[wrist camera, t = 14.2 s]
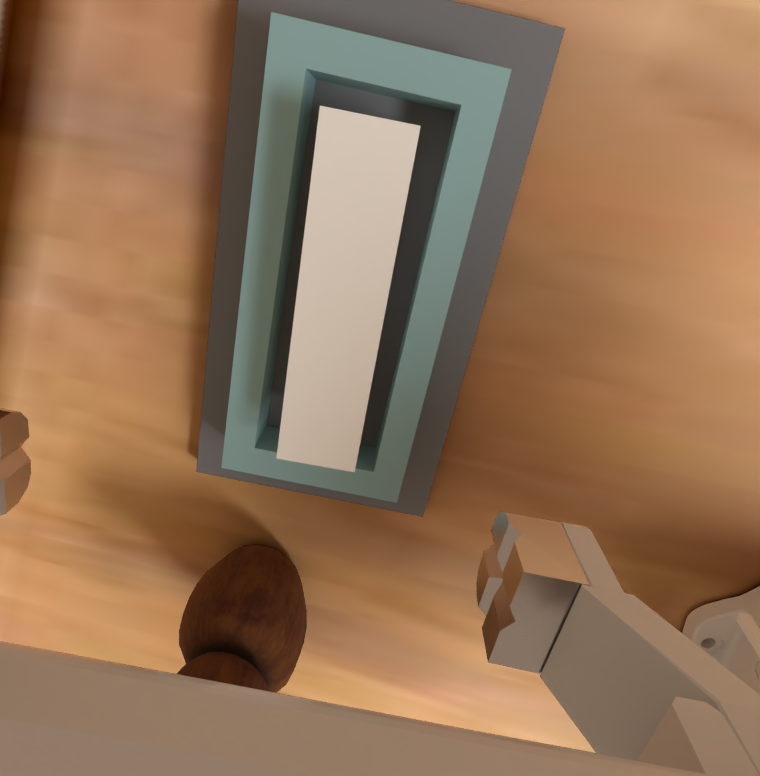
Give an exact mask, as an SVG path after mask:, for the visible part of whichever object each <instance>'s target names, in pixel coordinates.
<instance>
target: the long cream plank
mask: <svg viewBox="0 0 760 776" xmlns="http://www.w3.org/2000/svg"><path fill="white" fill-rule="evenodd" d="M420 127H421V126H419V125H414V124H409V123H404V122H399V121H394V120H389V119H384V118H379V117H374V116H369V115H364V114H359V113H354V112H349V111H344V110H339V109H335V108H330V107H325V106H320V109H319V117H318V125H317V133H316V141H315V149H314V158H313V166H312V174H311V182H310V190H309V198H308V206H307V214H306V222H305V230H304V239H303V247H302V255H301V263H300V271H299V279H298V287H297V295H296V303H295V311H294V320H293V328H292V336H291V344H290V352H289V360H288V368H287V376H286V384H285V392H284V401H283V409H282V417H281V425H280V433H279V441H278V449H277V457H276V458H277V459H282V460H288V461H293V462H299V463H305V464H310V465H316V466H322V467H327V468H333V469H338V470H344V471H350V472H355V468H356V462H357V457H358V452H359V447H360V441H361V436H362V431H363V426H364V421H365V415H366V410H367V405H368V400H369V394H370V389H371V384H372V379H373V373H374V368H375V363H376V358H377V352H378V347H379V342H380V337H381V331H382V326H383V321H384V316H385V310H386V305H387V300H388V295H389V290H390V284H391V279H392V274H393V269H394V263H395V258H396V253H397V248H398V242H399V237H400V232H401V227H402V221H403V216H404V211H405V206H406V200H407V195H408V190H409V185H410V179H411V174H412V169H413V164H414V159H415V153H416V148H417V143H418V138H419V132H420Z"/></svg>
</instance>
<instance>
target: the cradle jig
mask: <svg viewBox="0 0 760 776" xmlns="http://www.w3.org/2000/svg"><path fill="white" fill-rule="evenodd" d="M564 30H565V28H561V27H557V26H553V25H549V24H545V23H541V22H536V21H532V20H528V19H524V18H520V17H516V16H512V15H508V14H504V13H499V12H495V11H491V10H487V9H483V8H479V7H475V6H471V5H467V4H462V3H458V2H454V1H450V0H238V7H237V19H236V30H235V41H234V52H233V64H232V75H231V86H230V98H229V109H228V120H227V131H226V143H225V154H224V165H223V176H222V188H221V199H220V210H219V222H218V233H217V244H216V255H215V267H214V278H213V289H212V301H211V312H210V323H209V334H208V346H207V357H206V368H205V380H204V391H203V402H202V413H201V425H200V436H199V447H198V458H197V470H196V472H200V473H206V474H211V475H216V476H221V477H226V478H231V479H236V480H241V481H246V482H251V483H256V484H261V485H266V486H271V487H276V488H281V489H286V490H291V491H296V492H301V493H306V494H311V495H316V496H321V497H326V498H331V499H336V500H341V501H346V502H351V503H356V504H361V505H366V506H371V507H376V508H381V509H386V510H391V511H397V512H402V513H407V514H412V515H417V516H422V517H423V515H424V511H425V508H426V504H427V501H428V497H429V494H430V491H431V487H432V484H433V480H434V477H435V473H436V470H437V466H438V463H439V460H440V456H441V453H442V449H443V446H444V442H445V439H446V436H447V432H448V429H449V425H450V422H451V418H452V415H453V412H454V408H455V405H456V401H457V398H458V394H459V391H460V387H461V384H462V381H463V377H464V374H465V370H466V367H467V363H468V360H469V357H470V353H471V350H472V346H473V343H474V339H475V336H476V332H477V329H478V326H479V322H480V319H481V315H482V312H483V308H484V305H485V302H486V298H487V295H488V291H489V288H490V284H491V281H492V278H493V274H494V271H495V267H496V264H497V260H498V257H499V253H500V250H501V247H502V243H503V240H504V236H505V233H506V229H507V226H508V223H509V219H510V216H511V212H512V209H513V205H514V202H515V199H516V195H517V192H518V188H519V185H520V181H521V178H522V174H523V171H524V168H525V164H526V161H527V157H528V154H529V150H530V147H531V144H532V140H533V137H534V133H535V130H536V126H537V123H538V119H539V116H540V113H541V109H542V106H543V102H544V99H545V95H546V92H547V89H548V85H549V82H550V78H551V75H552V71H553V68H554V65H555V61H556V58H557V54H558V51H559V47H560V44H561V40H562V37H563V34H564ZM320 106H325V107H330V108H335V109H339V110H344V111H349V112H354V113H359V114H364V115H369V116H374V117H379V118H384V119H389V120H394V121H399V122H404V123H409V124H414V125H419V126H421V127H420V132H419V138H418V143H417V148H416V153H415V159H414V164H413V169H412V174H411V179H410V185H409V190H408V195H407V200H406V206H405V211H404V216H403V221H402V227H401V232H400V237H399V242H398V248H397V253H396V258H395V263H394V269H393V274H392V279H391V284H390V290H389V295H388V300H387V305H386V310H385V316H384V321H383V326H382V331H381V337H380V342H379V347H378V352H377V358H376V363H375V368H374V373H373V379H372V384H371V389H370V394H369V400H368V405H367V410H366V415H365V421H364V426H363V431H362V436H361V441H360V447H359V452H358V457H357V462H356V468H355V472H350V471H344V470H338V469H333V468H327V467H322V466H316V465H310V464H305V463H299V462H293V461H288V460H282V459H277V458H276V457H277V449H278V441H279V433H280V425H281V417H282V409H283V401H284V392H285V384H286V376H287V368H288V360H289V352H290V344H291V336H292V328H293V320H294V311H295V303H296V295H297V287H298V279H299V271H300V263H301V255H302V247H303V239H304V230H305V222H306V214H307V206H308V198H309V190H310V182H311V174H312V166H313V158H314V149H315V141H316V133H317V125H318V117H319V109H320Z"/></svg>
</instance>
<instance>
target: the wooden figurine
mask: <svg viewBox="0 0 760 776" xmlns="http://www.w3.org/2000/svg"><path fill="white" fill-rule="evenodd" d="M306 627H307V620H306V605H305V599H304V593H303V588H302V583H301V580H300V576H299V574H298V572H297V570H296V567H295V566H294V565H293V564H292V562H291V561H290V560H289V559H288V558H287V557H286V556H284V555H283V554H282V553H280V552H279V551H277V550H276V549H273V548H270V547H267V546H263V545H247V546H244V547H242V548H239V549H237V550H235V551H233V552H231V553H230V554H228V555H227V556H226V557H224V558H223V559H222V560H221V561H219V562H218V563H217V564H216V565H215V566H213V567H212V568H211V569H210V570H208V571H207V572H206V573H205V575H204V576H203V577H202V578H201V579H200V581H199V582H198V583H197V585H196V586H195V588H194V590H193V592H192V594H191V596H190V597H189V600H188V603H187V605H186V608H185V611H184V613H183V617H182V621H181V625H180V629H179V645H180V648H181V651H182V653H183V656H184V659H185V662H186V665H185V666H184V667H183V668H182V669H181V670H180V671H179V672H178V673H177V674H179V675H185V676H190V677H195V678H201V679H206V680H211V681H217V682H222V683H227V684H233V685H238V686H243V687H248V688H253V689H259V690H264V691H269V692H274V693H277V692H278V691H279V690H280V689H281V688H282V687H284V686H285V685H286V684H287V682H288V680H289V678H290V676H291V675H292V673H293V671H294V668H295V666H296V663H297V660H298V658H299V655H300V652H301V649H302V646H303V643H304V638H305V633H306Z"/></svg>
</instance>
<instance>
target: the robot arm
mask: <svg viewBox="0 0 760 776" xmlns="http://www.w3.org/2000/svg"><path fill="white" fill-rule="evenodd" d="M28 438H29V428H28V419H27V418H26V417H25V416H24V415H23V414H22V413H21V412H17V411H13V410H8V409H4V408H0V515H3V514H6V513H7V512H8V511H9V510H11V509H12V508H13V507H14V506H15V505H16V504H17V503H18V502H19V501H20V499H21V497H22V496H23V494H24V492H25V491H26V489H27V487H28V484H29V479H30V475H31V460H30V459H29V457H28V456H27V455H26V453H25V452H24V450H23V449H22V448H21V446H22V445H23V443H24V442H25V441H26V440H27V439H28ZM491 532H492V537H493V541H494V545H492V546H491V547H490V548H488V549H487V550H485V551H484V553H483V556H482V559H481V562H480V565H479V570H478V576H477V600H478V607H479V608H480V609H481V610H482V611H483V612H484V614H485V615H486V619H485V621H484V624H483V627H482V631H483V636H484V642H485V647H486V653H487V659H488V662H489V663H494V664H498V665H503V666H507V667H512V668H516V669H521V670H525V671H530V672H534V673H539V674H541V675H540V677H541V678H542V680H543V681H544V683H545V684H546V685H547V687H548V688H549V689H550V691H551V692H552V693H553V695H554V696H555V698H556V699H557V700H558V702H559V703H560V704H561V706H562V707H563V708H564V710H565V711H566V712H567V714H568V715H569V717H570V718H571V719H572V721H573V722H574V723H575V725H576V726H577V727H578V729H579V730H580V731H581V733H582V734H583V736H584V737H585V738H586V740H587V741H588V742H589V744H590V745H591V746H592V748H593V749H594V751H595V752H596V753H592V752H587V751H582V750H576V749H571V748H566V747H560V746H555V745H550V744H544V743H539V742H533V741H528V740H522V739H517V738H511V737H506V736H501V735H495V734H490V733H484V732H479V731H474V730H468V729H463V728H458V727H453V726H447V725H442V724H437V723H432V722H426V721H421V720H416V719H411V718H406V717H400V716H395V715H390V714H385V713H379V712H374V711H369V710H364V709H358V708H353V707H348V706H343V705H337V704H332V703H327V702H322V701H316V700H311V699H306V698H301V697H295V696H290V695H285V694H280V693H274V692H269V691H264V690H259V689H253V688H248V687H243V686H238V685H233V684H227V683H222V682H217V681H211V680H206V679H201V678H195V677H190V676H185V675H179V674H174V673H169V672H163V671H158V670H153V669H147V668H142V667H137V666H131V665H126V664H121V663H115V662H110V661H105V660H99V659H94V658H89V657H83V656H78V655H73V654H67V653H62V652H57V651H51V650H46V649H41V648H35V647H30V646H25V645H19V644H14V643H9V642H3V641H0V776H760V586H759V587H757V588H755V589H753V590H751V591H749V592H747V593H745V594H743V595H740V596H737V597H732V598H728V599H724V600H720V601H716V602H712V603H709V604H706V605H703V606H700V607H698V608H696V609H695V610H693V611H692V612H691V613H690V614H689V615H688V617H687V619H686V622H685V625H684V628H683V631H682V633H681V632H680V631H679V630H677V629H676V628H675V627H674V626H672V625H671V624H670V623H668V622H667V621H666V620H665V619H663V618H662V617H661V616H660V615H658V614H657V613H656V612H655V611H653V610H652V609H651V608H650V607H648V606H647V605H646V604H644V603H643V602H642V601H641V600H639V599H638V598H637V597H636V596H634V595H632V594H627V593H624V591H623V590H622V588H621V586H620V584H619V582H618V580H617V578H616V576H615V574H614V573H613V571H612V569H611V567H610V565H609V563H608V561H607V559H606V558H605V556H604V554H603V552H602V550H601V548H600V546H599V544H598V542H597V541H596V539H595V537H594V535H593V533H592V531H591V530H590V529H589V528H587V527H586V526H582V525H576V524H570V523H564V522H558V521H551V520H546V519H540V518H534V517H529V516H523V515H518V514H512V513H506V512H500V513H499V514H498V516H497V517H496V519H495V522H494V524H493V527H492V530H491Z"/></svg>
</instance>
